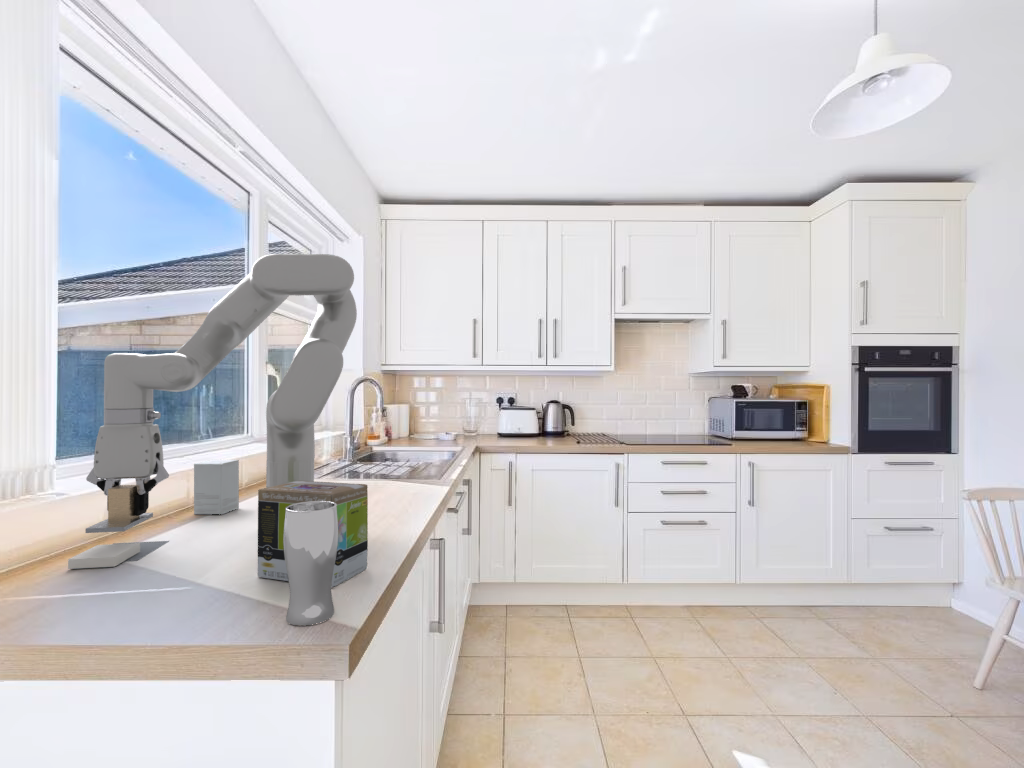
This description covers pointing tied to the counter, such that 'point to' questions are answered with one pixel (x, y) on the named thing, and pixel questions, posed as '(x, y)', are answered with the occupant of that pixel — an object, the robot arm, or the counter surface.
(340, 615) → the counter surface
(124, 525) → the trowel
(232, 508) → the supplement box
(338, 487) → the tea box
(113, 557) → the tile
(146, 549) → the mat
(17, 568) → the counter surface
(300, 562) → the beer glass
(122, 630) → the counter surface
